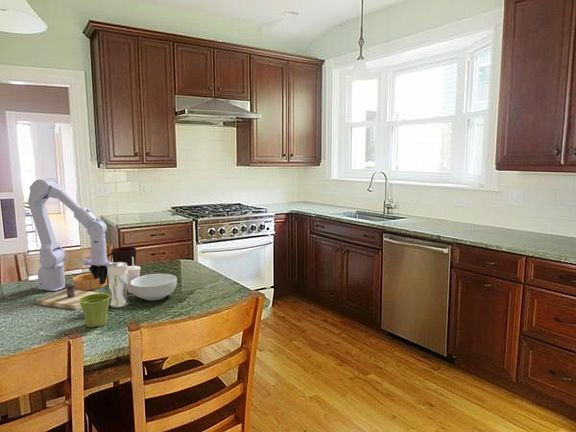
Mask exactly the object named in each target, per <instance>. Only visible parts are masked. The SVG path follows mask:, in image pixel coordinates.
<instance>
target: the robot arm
mask: <svg viewBox="0 0 576 432" xmlns="http://www.w3.org/2000/svg"><path fill="white" fill-rule="evenodd" d="M49 198H52V199H57V200H58V201H60V202H61V203H62V204H63V205H64V206H66V207H67V208H68V209H70V210H71V211H72V212H73V217H74V218H75V219H76V220H77V221H78V222H79V224H81V225H82V226H83V227H84V228H85V229H86V231H87V234H88V235H89V236H90V238H89V241H90V255H91V259H84V260H83V266H89V267H88V270H89V272H90V273H92V274H93V276H94V279H98V278H100V284H104V283H105V282H106V277H107V269H108V266H107V265H108V264H110V263H115V262H113V261H111V260H109V259H108V257H107V255H108V254H107V240H106V232H107V229H108V225H107V223H106V221H104V220H101V219H100V218H99V217H97V216H96V215H94V214H93V212H91V211H92V210H91V208H89V207H88V208H87V207H86V206H81V205H80V204H79V203H78V202H77V201H76V200H75V199H74V198H73V197H72V196H71V195H70V194H69V193H68V192H67V191H66V189H65V188H64V186H63V185H62V184H60V183H59V182H58V181H57V180H56V179H55V178H45V179H35V180H34V181H33V183H31V185H30V186H29V195H28V200H27V202H28V206H29V209H30V210H29V211H30V213H31V217H32V219H33V223H34V226H35V229H36V231H37V235H38V238H39V242H40V249H39V255H40V257H39V263H40V265H41V266H40V267H39V269H38V271H37V280H38V281H37V282H38V287H36V289H37V290H41V291H42V290H45V291H52V292H58V291H59V290H60V291H61V290H63V289H66V287H65V284H66V278H65V277H66V276H65V275H66V274H65V264H64V261H65V259H66V258H67V255H66V251H65V250H64V249H63V248H62V246H61V244H60V243H59V242H58V241H57V239H56V235H55V233H54V230H53V226H52V223H51V220H50V217H49V213H48V210H47V206H46V202H47V201H48V200H49ZM107 278H108V277H107Z"/></svg>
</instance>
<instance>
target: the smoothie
mask: <svg viewBox="0 0 576 432" xmlns="http://www.w3.org/2000/svg"><path fill="white" fill-rule="evenodd" d="M141 270H142V269H141V266H138V265H135V266H134V257H132V266H128V287H127V293H129V294H133V292H132V290H131V286H130V282H131V281H132V280H133V279H135V278H137V277H140V273H141Z"/></svg>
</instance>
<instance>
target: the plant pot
mask: <svg viewBox="0 0 576 432" xmlns="http://www.w3.org/2000/svg"><path fill="white" fill-rule="evenodd" d="M99 293H100V294H91V295H87V296H84V297H81V298H80V299H79V300H78V301H79V303H80V304H81V309H82V313H83V317H84V323H85V325H86V327H87V328H94V327H103V326H104V325H106V324H107V321H108V315H109V304H110V301H111V300H110V299H111V294H108V293H104V292H99ZM103 293H104V294H103Z"/></svg>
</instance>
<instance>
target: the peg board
mask: <svg viewBox="0 0 576 432" xmlns="http://www.w3.org/2000/svg"><path fill="white" fill-rule="evenodd" d="M75 285H76V283H73V282H68V283H65V288H63V289H61V290H60V291H59V290H58V291H55V292H54V293H51V294H49V295H46V296H43V297H41V298H38V299H36V300H35V303H36V305H40V306H41V305H42V306H48V307H56V308H62V309H67V310H68V309H69V310H79V309H80V308H81V309H82V307H81V304H80V303H79V301H78V300H79V299H80V298H81V297H84V296H87V295H91V294H100V293H101V292H98V291H91V290H76V289H74V286H75ZM102 293H103V294H105V293H104V292H102Z"/></svg>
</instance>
